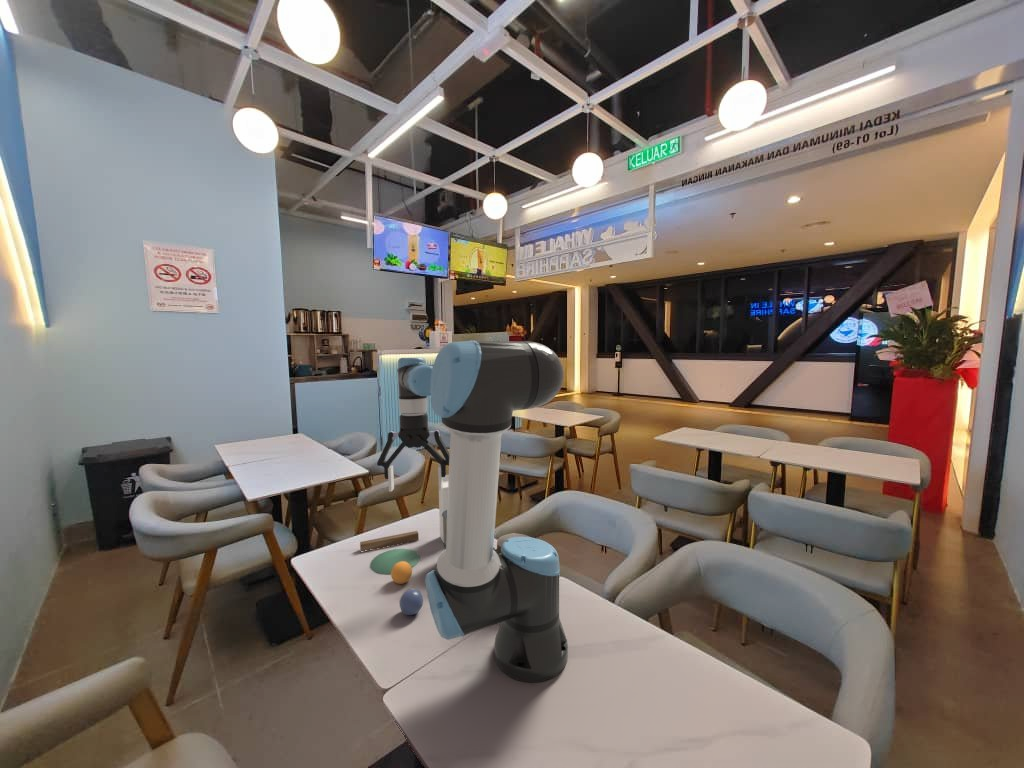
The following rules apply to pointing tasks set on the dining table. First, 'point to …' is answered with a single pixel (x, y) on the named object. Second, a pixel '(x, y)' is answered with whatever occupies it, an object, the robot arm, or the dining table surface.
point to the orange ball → (401, 572)
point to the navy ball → (411, 602)
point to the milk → (443, 502)
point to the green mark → (393, 560)
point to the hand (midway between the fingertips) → (416, 489)
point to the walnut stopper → (389, 541)
